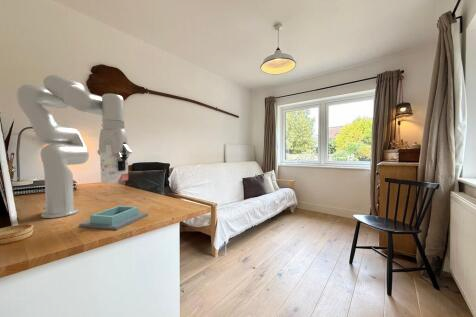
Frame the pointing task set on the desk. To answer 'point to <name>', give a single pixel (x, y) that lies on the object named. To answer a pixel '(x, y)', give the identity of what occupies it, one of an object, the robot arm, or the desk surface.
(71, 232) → the desk surface
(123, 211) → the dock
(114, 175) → the ink cartridge box
